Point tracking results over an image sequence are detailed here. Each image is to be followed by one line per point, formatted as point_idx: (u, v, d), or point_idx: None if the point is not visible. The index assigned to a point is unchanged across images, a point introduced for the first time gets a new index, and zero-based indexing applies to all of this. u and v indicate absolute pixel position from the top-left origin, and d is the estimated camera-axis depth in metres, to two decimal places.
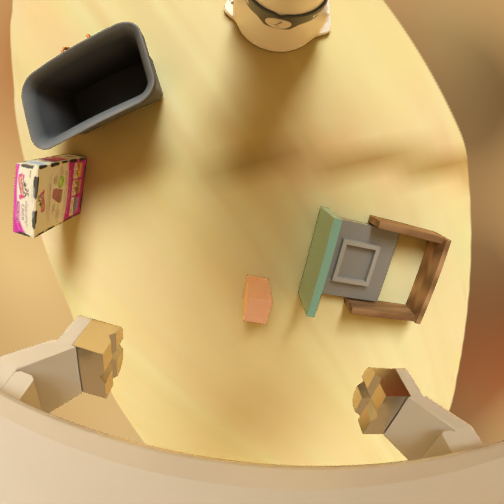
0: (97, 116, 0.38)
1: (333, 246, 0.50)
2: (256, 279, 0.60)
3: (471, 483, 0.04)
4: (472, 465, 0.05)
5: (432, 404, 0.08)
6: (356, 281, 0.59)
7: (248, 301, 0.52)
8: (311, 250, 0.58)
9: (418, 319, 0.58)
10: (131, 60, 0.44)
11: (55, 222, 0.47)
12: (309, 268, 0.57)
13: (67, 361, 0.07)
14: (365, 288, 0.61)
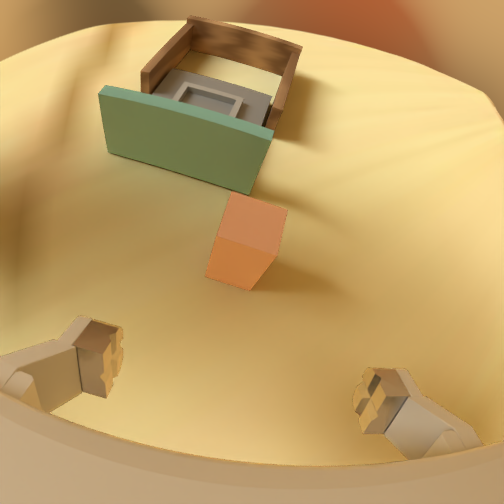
0: None
1: (142, 95, 0.26)
2: None
3: (471, 483, 0.04)
4: (472, 465, 0.05)
5: (432, 404, 0.08)
6: (233, 109, 0.37)
7: (227, 237, 0.23)
8: (170, 163, 0.33)
9: (296, 46, 0.41)
10: None
11: None
12: (196, 160, 0.32)
13: (67, 361, 0.07)
14: (248, 105, 0.39)
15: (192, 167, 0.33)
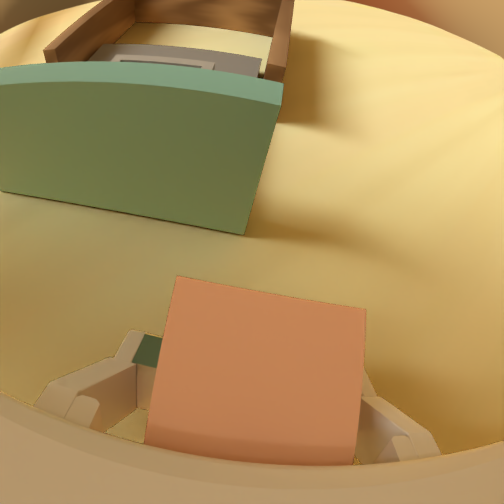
0: None
1: (0, 71, 0.09)
2: None
3: (471, 483, 0.04)
4: (472, 465, 0.05)
5: (386, 405, 0.08)
6: None
7: None
8: (85, 194, 0.16)
9: None
10: None
11: None
12: (124, 182, 0.15)
13: (126, 379, 0.07)
14: None
15: (123, 196, 0.16)
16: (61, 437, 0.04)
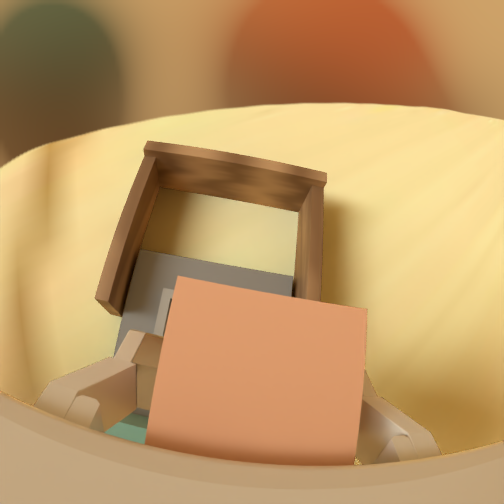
0: None
1: (116, 425, 0.16)
2: None
3: (471, 483, 0.04)
4: (472, 465, 0.05)
5: (386, 405, 0.08)
6: None
7: None
8: None
9: (317, 177, 0.31)
10: None
11: None
12: None
13: (126, 379, 0.07)
14: None
15: None
16: (61, 437, 0.04)
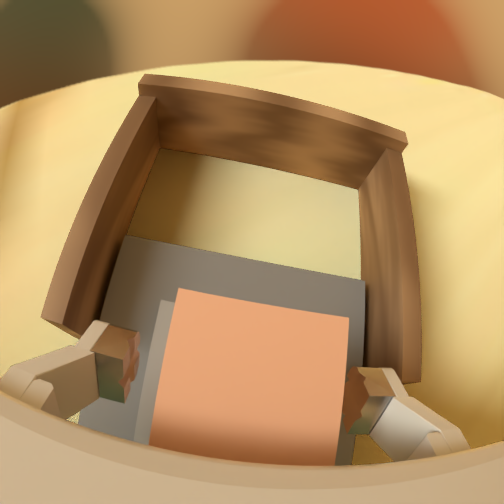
0: None
1: None
2: None
3: (471, 483, 0.04)
4: (472, 465, 0.05)
5: (418, 405, 0.08)
6: None
7: (182, 446, 0.06)
8: None
9: (395, 136, 0.19)
10: None
11: None
12: None
13: (85, 367, 0.07)
14: None
15: None
16: (61, 437, 0.04)
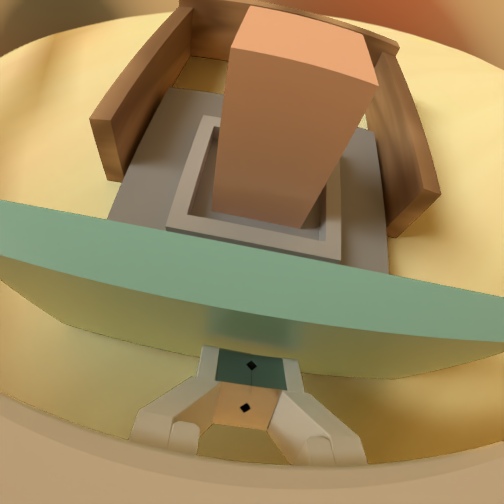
0: None
1: (93, 230, 0.06)
2: None
3: (471, 483, 0.04)
4: (472, 465, 0.05)
5: (312, 403, 0.08)
6: None
7: (258, 49, 0.08)
8: None
9: (389, 42, 0.20)
10: None
11: None
12: None
13: (211, 398, 0.08)
14: (345, 157, 0.19)
15: None
16: (61, 437, 0.04)
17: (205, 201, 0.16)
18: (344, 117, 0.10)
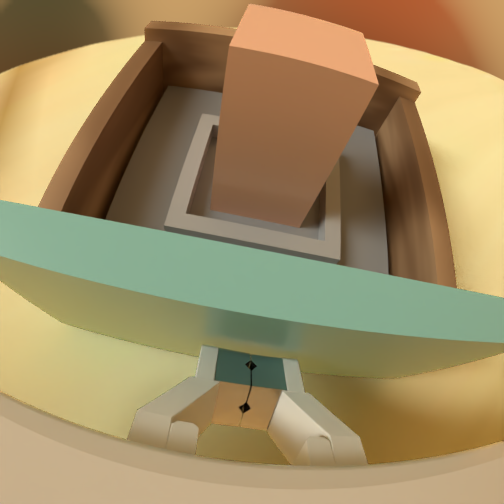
0: None
1: (91, 230, 0.06)
2: None
3: (471, 483, 0.04)
4: (472, 465, 0.05)
5: (312, 403, 0.08)
6: None
7: (256, 47, 0.08)
8: None
9: (408, 84, 0.17)
10: None
11: None
12: None
13: (210, 397, 0.08)
14: (345, 156, 0.19)
15: None
16: (61, 437, 0.04)
17: (204, 200, 0.16)
18: (344, 116, 0.10)
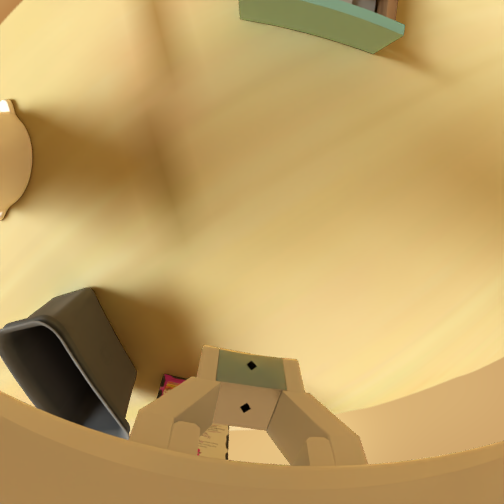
0: None
1: None
2: None
3: (471, 483, 0.04)
4: (472, 465, 0.05)
5: (312, 403, 0.08)
6: None
7: None
8: (305, 29, 0.31)
9: None
10: None
11: (223, 431, 0.40)
12: (332, 31, 0.30)
13: (211, 397, 0.08)
14: None
15: (326, 33, 0.31)
16: (61, 437, 0.04)
17: None
18: None
